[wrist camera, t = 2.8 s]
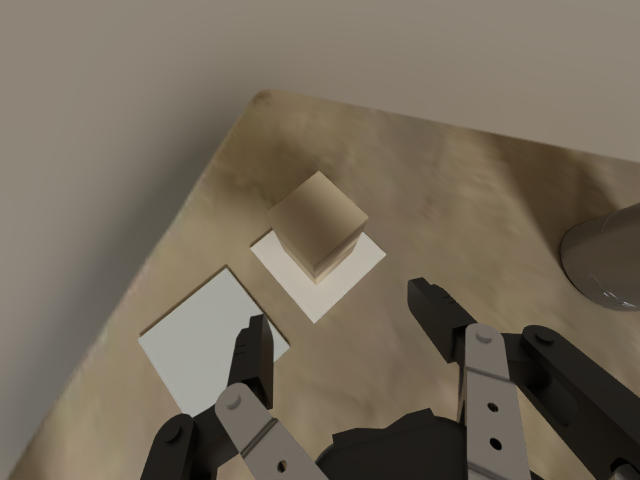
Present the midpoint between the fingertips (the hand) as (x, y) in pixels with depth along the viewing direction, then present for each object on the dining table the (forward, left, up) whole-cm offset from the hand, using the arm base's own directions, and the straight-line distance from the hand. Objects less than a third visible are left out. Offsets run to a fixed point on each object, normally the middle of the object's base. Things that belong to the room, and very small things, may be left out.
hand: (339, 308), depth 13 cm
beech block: (-3, -5, -10) cm, 12 cm away
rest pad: (+10, -5, -11) cm, 15 cm away
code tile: (-3, -5, -11) cm, 12 cm away
